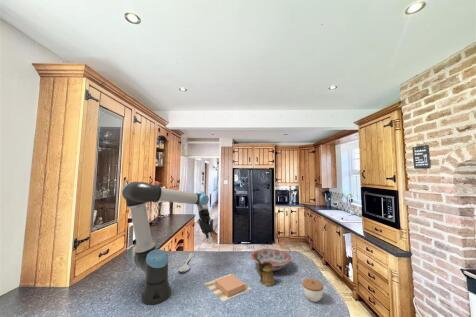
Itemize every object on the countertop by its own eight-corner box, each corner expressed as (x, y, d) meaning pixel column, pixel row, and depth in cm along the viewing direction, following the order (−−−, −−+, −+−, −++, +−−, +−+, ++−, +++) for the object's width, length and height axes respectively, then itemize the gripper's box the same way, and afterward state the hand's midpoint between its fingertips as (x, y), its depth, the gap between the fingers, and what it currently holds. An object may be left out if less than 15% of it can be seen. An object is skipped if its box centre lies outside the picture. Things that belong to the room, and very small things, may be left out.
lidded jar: (321, 294, 110) (320, 276, 111) (325, 306, 99) (324, 286, 100) (301, 291, 112) (301, 274, 113) (303, 303, 102) (303, 284, 103)
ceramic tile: (215, 280, 118) (228, 291, 106) (231, 274, 125) (245, 283, 114) (215, 286, 117) (228, 297, 106) (231, 279, 124) (245, 289, 113)
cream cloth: (204, 284, 120) (204, 283, 120) (230, 274, 132) (230, 273, 132) (223, 303, 103) (223, 301, 103) (251, 289, 115) (251, 288, 115)
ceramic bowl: (290, 280, 124) (289, 267, 125) (246, 274, 133) (245, 261, 134) (292, 261, 151) (292, 251, 152) (256, 257, 161) (255, 247, 161)
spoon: (187, 274, 133) (187, 270, 133) (175, 275, 133) (175, 270, 133) (196, 256, 168) (196, 253, 168) (186, 256, 167) (187, 253, 168)
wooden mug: (251, 280, 125) (251, 251, 127) (272, 278, 127) (271, 249, 129) (254, 287, 116) (254, 256, 118) (276, 286, 118) (275, 255, 120)
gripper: (208, 213, 153) (215, 244, 139) (193, 213, 144) (199, 245, 131) (213, 208, 149) (220, 239, 135) (198, 208, 140) (204, 241, 127)
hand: (210, 242), depth 133 cm, fingers closed
